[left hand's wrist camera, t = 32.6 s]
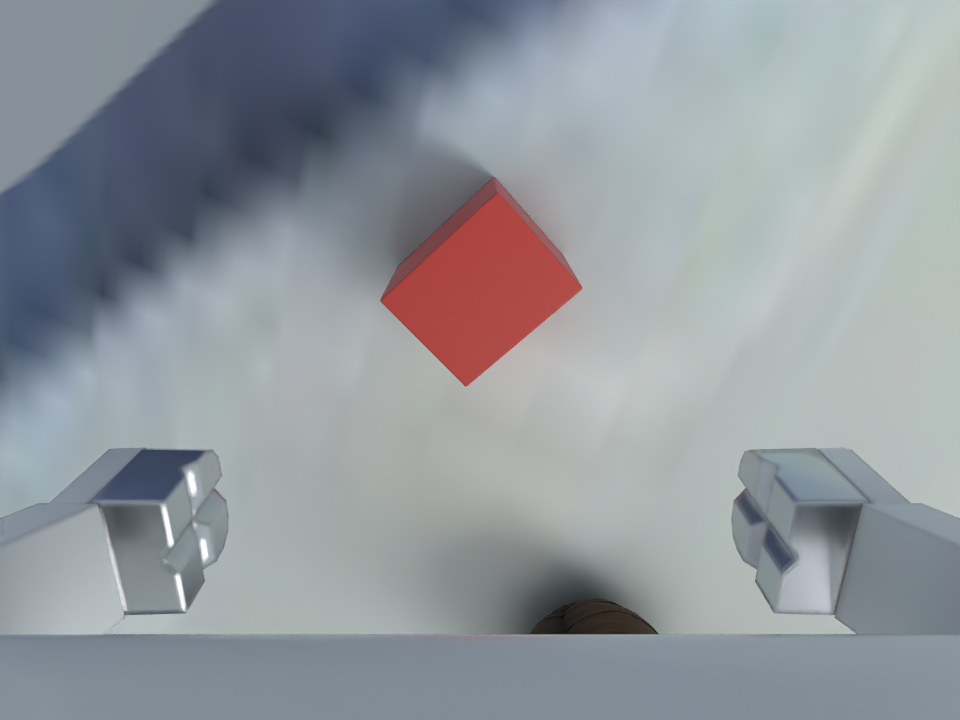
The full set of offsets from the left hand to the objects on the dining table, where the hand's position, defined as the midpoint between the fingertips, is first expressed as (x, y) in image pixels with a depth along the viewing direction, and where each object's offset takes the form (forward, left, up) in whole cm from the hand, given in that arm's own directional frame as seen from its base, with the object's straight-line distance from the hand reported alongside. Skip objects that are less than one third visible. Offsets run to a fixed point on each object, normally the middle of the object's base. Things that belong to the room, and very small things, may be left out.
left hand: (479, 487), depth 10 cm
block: (0, 0, -16) cm, 16 cm away
